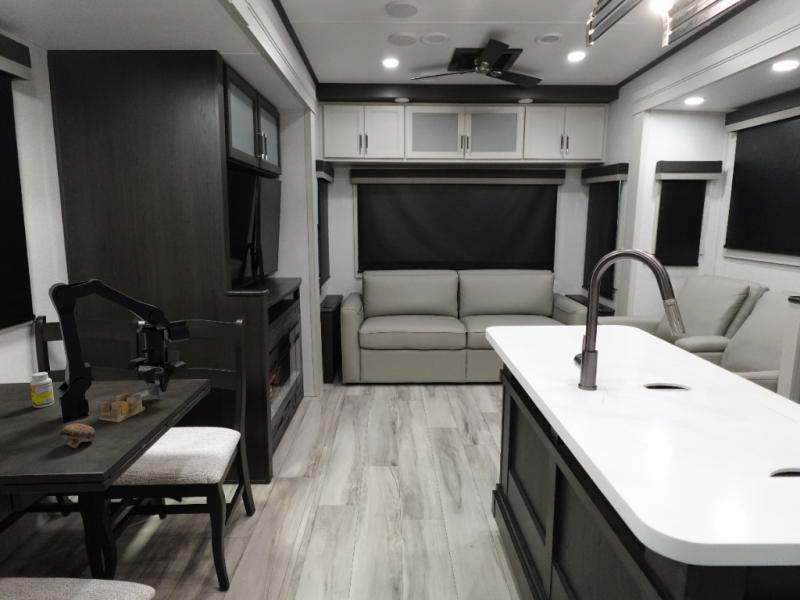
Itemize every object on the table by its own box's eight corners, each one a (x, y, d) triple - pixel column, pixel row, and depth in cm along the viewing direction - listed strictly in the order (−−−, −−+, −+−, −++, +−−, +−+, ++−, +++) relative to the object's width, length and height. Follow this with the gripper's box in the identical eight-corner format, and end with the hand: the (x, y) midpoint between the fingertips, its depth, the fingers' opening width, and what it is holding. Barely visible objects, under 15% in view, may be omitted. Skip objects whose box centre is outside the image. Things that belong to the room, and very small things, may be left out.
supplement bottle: (35, 403, 160) (31, 372, 158) (56, 400, 162) (52, 370, 160) (30, 409, 155) (26, 377, 153) (51, 406, 157) (48, 375, 155)
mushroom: (63, 444, 123) (71, 418, 126) (50, 448, 127) (57, 424, 130) (97, 449, 128) (103, 425, 131) (83, 453, 133) (90, 430, 136)
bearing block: (118, 422, 145) (116, 405, 144) (99, 419, 147) (97, 403, 146) (145, 409, 154) (143, 394, 153) (126, 407, 156) (125, 391, 155)
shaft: (137, 405, 153) (136, 393, 152) (127, 404, 154) (125, 392, 154) (165, 393, 164) (164, 381, 163) (155, 392, 165) (154, 380, 164)
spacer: (122, 414, 148) (121, 404, 147) (111, 412, 149) (110, 403, 149) (129, 411, 150) (128, 402, 150) (118, 409, 151) (117, 400, 151)
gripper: (196, 340, 166) (199, 386, 169) (150, 337, 172) (154, 381, 174) (172, 349, 156) (175, 397, 158) (124, 344, 161) (128, 391, 164)
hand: (158, 391), depth 164 cm, fingers closed on shaft, 4 cm apart
